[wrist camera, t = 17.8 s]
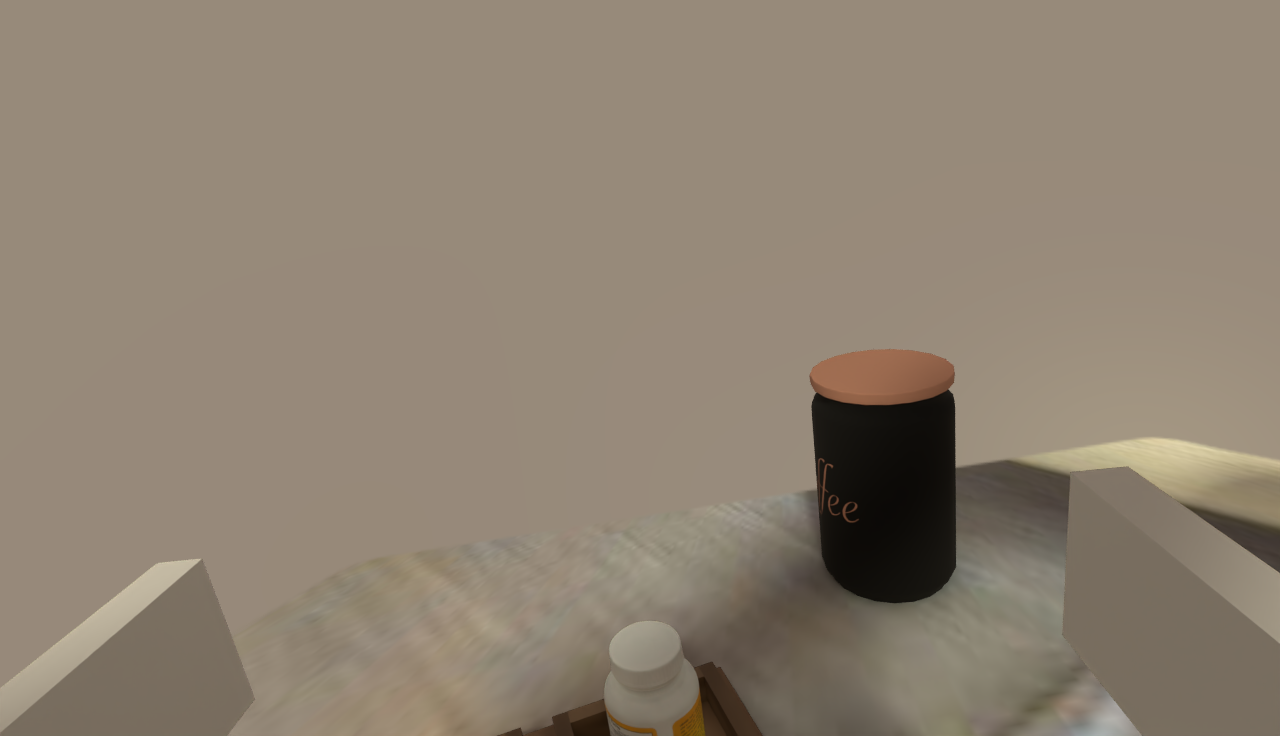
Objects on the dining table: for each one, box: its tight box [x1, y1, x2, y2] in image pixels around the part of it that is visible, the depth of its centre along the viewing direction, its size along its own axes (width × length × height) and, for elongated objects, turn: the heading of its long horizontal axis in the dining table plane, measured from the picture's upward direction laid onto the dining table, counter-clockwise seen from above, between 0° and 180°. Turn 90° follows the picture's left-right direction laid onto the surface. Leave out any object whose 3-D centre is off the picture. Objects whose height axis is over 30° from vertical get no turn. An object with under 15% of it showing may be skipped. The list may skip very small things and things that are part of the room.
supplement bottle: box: [604, 621, 705, 736], centre depth 39 cm, size 5×5×10 cm
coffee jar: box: [810, 349, 956, 603], centre depth 56 cm, size 11×11×18 cm
